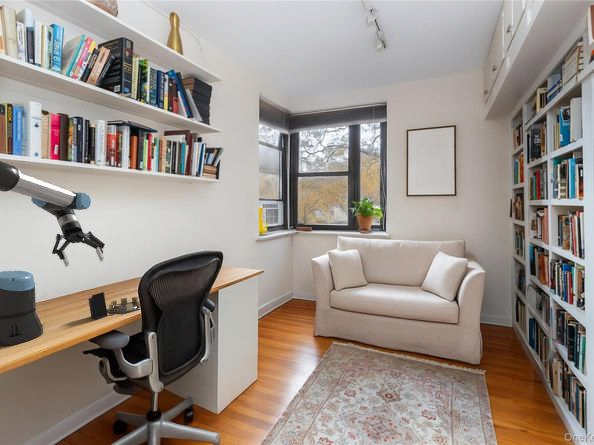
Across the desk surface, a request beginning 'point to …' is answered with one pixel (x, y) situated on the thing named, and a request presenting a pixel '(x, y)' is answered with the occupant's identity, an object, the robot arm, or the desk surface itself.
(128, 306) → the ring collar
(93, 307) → the speaker
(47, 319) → the desk surface
